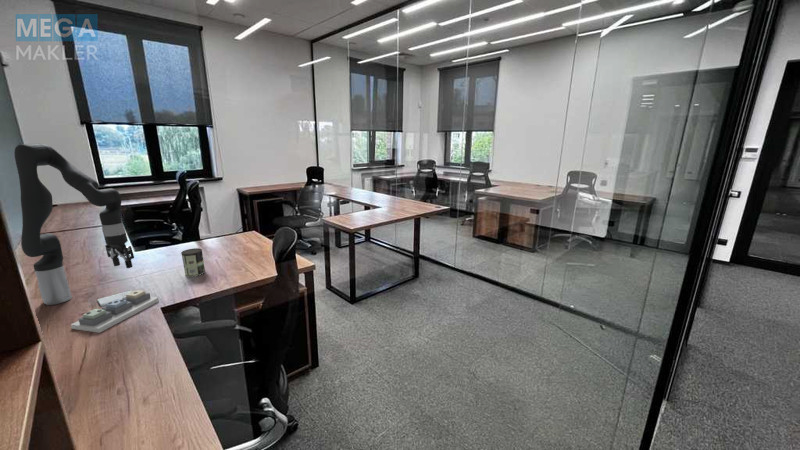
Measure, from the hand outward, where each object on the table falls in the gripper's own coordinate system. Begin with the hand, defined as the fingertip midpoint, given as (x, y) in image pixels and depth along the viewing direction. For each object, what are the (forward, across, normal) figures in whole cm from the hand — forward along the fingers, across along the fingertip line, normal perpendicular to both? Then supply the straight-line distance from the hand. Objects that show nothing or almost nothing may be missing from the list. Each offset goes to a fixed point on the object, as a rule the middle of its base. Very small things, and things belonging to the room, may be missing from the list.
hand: (123, 266), depth 148 cm
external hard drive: (+20, -13, 0) cm, 23 cm away
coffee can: (+20, -5, +37) cm, 42 cm away
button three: (+16, +4, -8) cm, 18 cm away
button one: (+16, +3, +1) cm, 16 cm away
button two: (+16, +5, -17) cm, 24 cm away
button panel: (+19, +4, -8) cm, 21 cm away
